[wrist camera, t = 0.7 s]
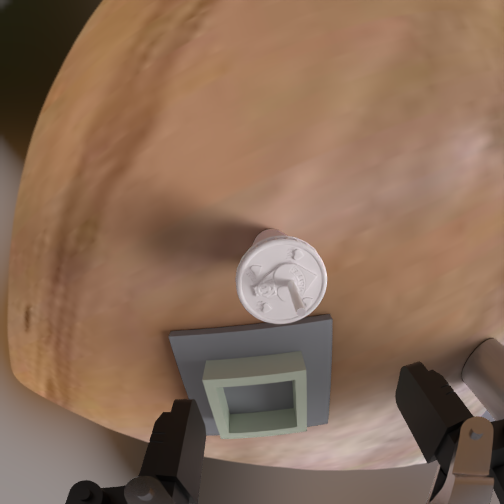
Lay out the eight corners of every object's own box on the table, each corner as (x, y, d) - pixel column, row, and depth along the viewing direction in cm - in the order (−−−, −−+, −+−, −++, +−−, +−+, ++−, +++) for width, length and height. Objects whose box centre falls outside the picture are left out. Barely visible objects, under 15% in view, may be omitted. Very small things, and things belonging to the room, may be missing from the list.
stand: (329, 313, 31) (341, 336, 27) (326, 417, 36) (332, 441, 32) (170, 331, 31) (160, 354, 27) (203, 429, 36) (200, 453, 32)
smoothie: (308, 268, 30) (352, 345, 16) (248, 283, 30) (248, 371, 16) (295, 208, 28) (339, 245, 14) (231, 224, 28) (217, 275, 15)
